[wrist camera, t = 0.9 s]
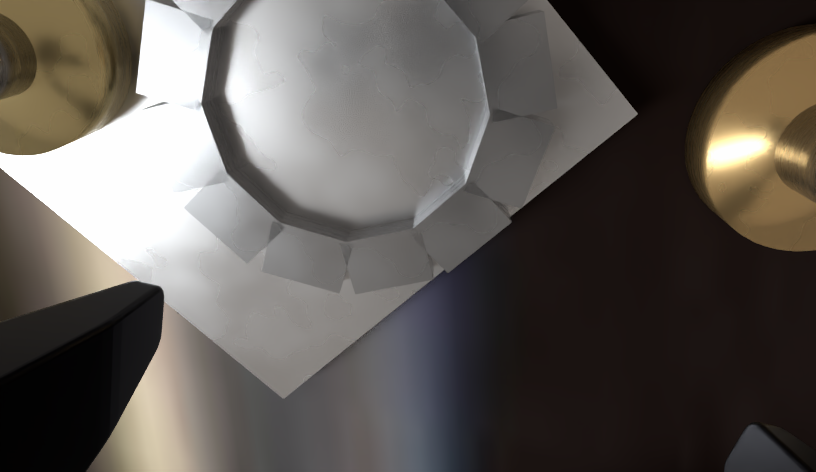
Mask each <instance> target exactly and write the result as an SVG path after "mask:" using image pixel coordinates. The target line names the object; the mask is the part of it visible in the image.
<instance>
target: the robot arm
mask: <svg viewBox="0 0 816 472" xmlns="http://www.w3.org/2000/svg"><path fill="white" fill-rule="evenodd" d="M163 307H164V291H163V289H162V288H161V287H160V286H158V285H154V284H149V283H145V282H141V281H130V282H127V283H124V284H121V285H118V286H114V287H111V288H108V289H105V290H101V291H98V292H95V293H92V294H88V295H85V296H82V297H79V298H76V299H72V300H69V301H66V302H63V303H59V304H56V305H53V306H50V307H46V308H43V309H40V310H37V311H34V312H30V313H27V314H24V315H21V316H17V317H14V318H11V319H8V320H4V321H1V322H0V472H86V471H87V469H88V468H89V467H90V465H91V464H92V462H93V461H94V459H95V458H96V457H97V455H98V454H99V452H100V451H101V449H102V448H103V446H104V445H105V443H106V442H107V440H108V438H109V437H110V435H111V433H112V432H113V430H114V428H115V426H116V425H117V423H118V421H119V419H120V417H121V415H122V414H123V412H124V410H125V408H126V406H127V404H128V402H129V401H130V399H131V397H132V395H133V393H134V391H135V389H136V387H137V386H138V384H139V382H140V380H141V378H142V376H143V374H144V373H145V371H146V369H147V367H148V365H149V363H150V361H151V360H152V358H153V356H154V354H155V352H156V350H157V348H158V345H159V342H160V339H161V333H162V320H163ZM724 472H816V451H815V450H814V449H812V448H811V447H810V446H808V445H807V444H805V443H804V442H802V441H801V440H799V439H798V438H796V437H795V436H793V435H792V434H791V433H789V432H788V431H786V430H785V429H783V428H780V427H778V426H774V425H769V424H765V423H760V422H754V423H751V424H749V425H748V426H747V427H746V428H745V430H744V431H743V433H742V435H741V436H740V438H739V440H738V441H737V443H736V445H735V446H734V448H733V450H732V451H731V453H730V455H729V456H728V458H727V460H726V463H725V468H724Z"/></svg>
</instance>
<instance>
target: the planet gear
mask: <svg viewBox="0 0 816 472" xmlns="http://www.w3.org/2000/svg"><path fill="white" fill-rule="evenodd" d="M685 161H686V168H687V172H688V175H689V179H690V181H691V183H692V185H693V187H694V190H695V191H696V193H697V194H698V196H699V197H700V198H701V200H702V201H703V202H704V203H705V204H706V205H707V206H708V207H709V208H710V209H711V210H712V211H713V212H715V213H716V214H717V215H718V216H719V217H720V218H722V219H723V220H724V221H725V222H726V223H727V224H729V225H730V226H731V227H732V228H733V229H735V230H736V231H737V232H739V233H740V234H741V235H742V236H744V237H746V238H748V239H749V240H751V241H753V242H755V243H758V244H761V245H763V246H766V247H770V248H774V249H778V250H787V251H811V250H816V24H807V25H801V26H795V27H791V28H788V29H784V30H781V31H778V32H775V33H773V34H771V35H768V36H766V37H764V38H762V39H760V40H758V41H756V42H755V43H753V44H751V45H749V46H748V47H746V48H745V49H744V50H742V51H741V52H739V53H738V54H737V55H735V56H734V57H733V58H732V59H731V60H730V61H729V62H727V63H726V64H725V65H724V66H723V67H722V68H721V69H720V70H719V72H718V73H717V74H716V75H715V76H714V77H713V78H712V80H711V81H710V82H709V84H708V85H707V86H706V88H705V89H704V91H703V93H702V94H701V96H700V98H699V100H698V101H697V103H696V105H695V108H694V110H693V112H692V115H691V118H690V121H689V125H688V128H687V133H686V140H685Z"/></svg>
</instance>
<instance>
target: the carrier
mask: <svg viewBox="0 0 816 472" xmlns="http://www.w3.org/2000/svg"><path fill="white" fill-rule="evenodd" d="M637 114H638V113H637V112H636V111H635V110H634V108H633V107H632V106H631V105H630V103H629V102H628V101H627V100H626V98H625V97H624V96H623V95H622V93H621V92H620V91H619V90H618V88H617V87H616V86H615V85H614V83H613V82H612V81H611V80H610V78H609V77H608V76H607V75H606V73H605V72H604V71H603V70H602V68H601V67H600V66H599V65H598V63H597V62H596V61H595V60H594V58H593V57H592V56H591V55H590V53H589V52H588V51H587V50H586V48H585V47H584V46H583V45H582V43H581V42H580V41H579V40H578V38H577V37H576V36H575V35H574V33H573V32H572V31H571V30H570V28H569V27H568V26H567V25H566V23H565V22H564V21H563V20H562V18H561V17H560V16H559V15H558V13H557V12H556V11H555V10H554V8H553V7H552V6H551V4H550V3H549V2H548V1H547V0H0V167H1V168H2V169H3V170H4V171H6V172H7V173H8V174H9V175H11V176H12V177H13V178H14V179H15V180H17V181H18V182H19V183H20V184H22V185H23V186H24V187H25V188H26V189H28V190H29V191H30V192H31V193H33V194H34V195H35V196H36V197H37V198H39V199H40V200H41V201H42V202H44V203H45V204H46V205H47V206H48V207H50V208H51V209H52V210H53V211H55V212H56V213H57V214H58V215H59V216H61V217H62V218H63V219H64V220H66V221H67V222H68V223H69V224H70V225H72V226H73V227H74V228H75V229H77V230H78V231H79V232H80V233H81V234H83V235H84V236H85V237H86V238H88V239H89V240H90V241H91V242H92V243H94V244H95V245H96V246H97V247H99V248H100V249H101V250H102V251H103V252H105V253H106V254H107V255H108V256H110V257H111V258H112V259H113V260H114V261H116V262H117V263H118V264H119V265H121V266H122V267H123V268H124V269H125V270H127V271H128V272H129V273H130V274H132V275H133V276H134V277H135V278H136V279H138V280H139V281H141V282H145V283H149V284H154V285H158V286H160V287H161V288H162V289H163V291H164V301H165V302H166V303H167V304H168V305H169V306H171V307H172V308H173V309H174V310H176V311H177V312H178V313H179V314H180V315H182V316H183V317H184V318H185V319H187V320H188V321H189V322H190V323H191V324H193V325H194V326H195V327H196V328H198V329H199V330H200V331H201V332H202V333H204V334H205V335H206V336H207V337H209V338H210V339H211V340H212V341H213V342H215V343H216V344H217V345H218V346H220V347H221V348H222V349H223V350H224V351H226V352H227V353H228V354H229V355H231V356H232V357H233V358H234V359H235V360H237V361H238V362H239V363H240V364H242V365H243V366H244V367H245V368H246V369H248V370H249V371H250V372H251V373H253V374H254V375H255V376H256V377H257V378H259V379H260V380H261V381H262V382H264V383H265V384H266V385H267V386H268V387H270V388H271V389H272V390H273V391H275V392H276V393H277V394H278V395H279V396H281V397H282V398H283V399H284V398H285V397H286V396H288V395H289V394H290V393H291V392H293V391H294V390H295V389H296V388H298V387H299V386H300V385H301V384H303V383H304V382H305V381H306V380H308V379H309V378H310V377H311V376H313V375H314V374H315V373H316V372H318V371H319V370H320V369H321V368H322V367H324V366H325V365H326V364H327V363H329V362H330V361H331V360H332V359H334V358H335V357H336V356H337V355H339V354H340V353H341V352H342V351H344V350H345V349H346V348H347V347H349V346H350V345H351V344H352V343H354V342H355V341H356V340H357V339H359V338H360V337H361V336H362V335H364V334H365V333H366V332H367V331H369V330H370V329H371V328H372V327H374V326H375V325H376V324H377V323H379V322H380V321H381V320H382V319H383V318H385V317H386V316H387V315H388V314H390V313H391V312H392V311H393V310H395V309H396V308H397V307H398V306H400V305H401V304H402V303H403V302H405V301H406V300H407V299H408V298H410V297H411V296H412V295H413V294H415V293H416V292H417V291H418V290H420V289H421V288H422V287H423V286H425V285H426V284H427V283H428V282H430V281H431V280H433V278H435V277H436V276H437V275H438V274H440V273H441V272H442V271H443V270H445V271H446V272H447V273H449V272H450V271H451V270H452V269H454V268H455V267H456V266H457V265H459V264H460V263H461V262H462V261H464V260H465V259H466V258H467V257H469V256H470V255H471V254H473V253H474V252H475V251H476V250H478V249H479V248H480V247H481V246H483V245H484V244H485V243H486V242H488V241H489V240H490V239H491V238H493V237H494V236H495V235H496V234H498V233H499V232H500V231H501V230H503V229H504V228H505V227H506V226H508V225H509V224H510V223H511V222H512V221H511V218H510V216H512V215H513V214H514V213H515V212H517V211H518V210H519V209H520V208H521V209H522V207H523V206H524V205H525V204H527V203H528V202H529V201H530V200H532V199H533V198H534V197H535V196H537V195H538V194H539V193H540V192H542V191H543V190H544V189H545V188H547V187H548V186H549V185H550V184H552V183H553V182H554V181H555V180H557V179H558V178H559V177H560V176H562V175H563V174H564V173H565V172H567V171H568V170H569V169H570V168H571V167H573V166H574V165H575V164H576V163H578V162H579V161H580V160H581V159H583V158H584V157H585V156H586V155H588V154H589V153H590V152H591V151H593V150H594V149H595V148H596V147H598V146H599V145H600V144H601V143H603V142H604V141H605V140H606V139H608V138H609V137H610V136H611V135H613V134H614V133H615V132H616V131H618V130H619V129H620V128H621V127H623V126H624V125H625V124H626V123H628V122H629V121H630V120H631V119H632V118H634V117H635V116H636V115H637Z"/></svg>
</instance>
